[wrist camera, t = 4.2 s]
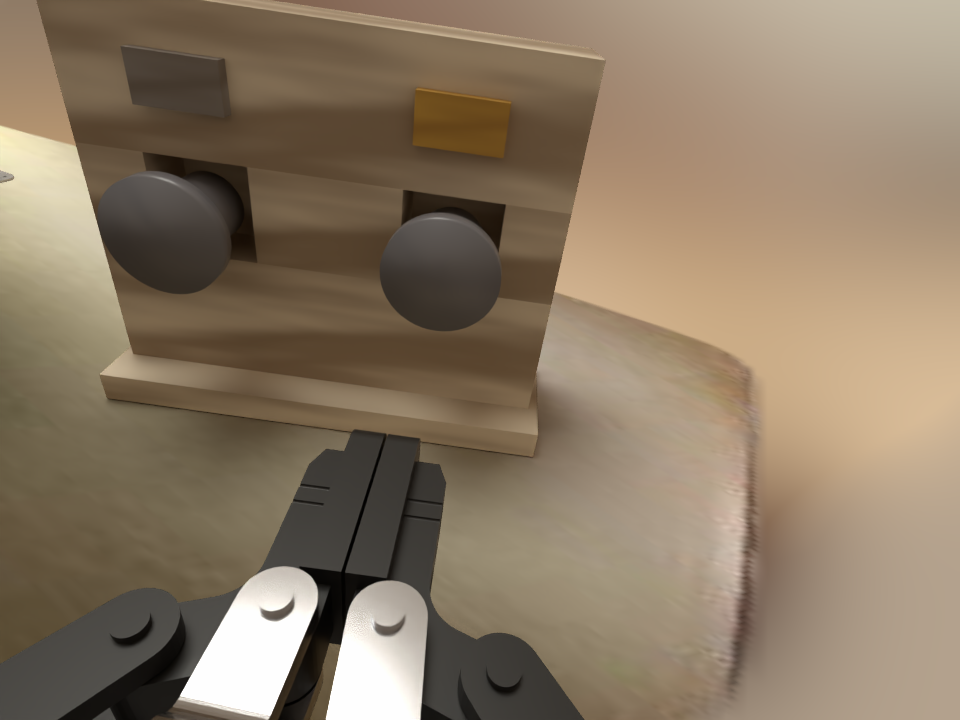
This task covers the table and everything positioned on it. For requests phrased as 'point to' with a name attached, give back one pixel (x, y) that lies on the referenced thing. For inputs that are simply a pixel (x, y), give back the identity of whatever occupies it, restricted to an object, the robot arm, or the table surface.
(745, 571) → the table surface
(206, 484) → the table surface
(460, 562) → the table surface
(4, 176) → the emergency button
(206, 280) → the grey button
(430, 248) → the grey rounded knob
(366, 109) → the birch console
